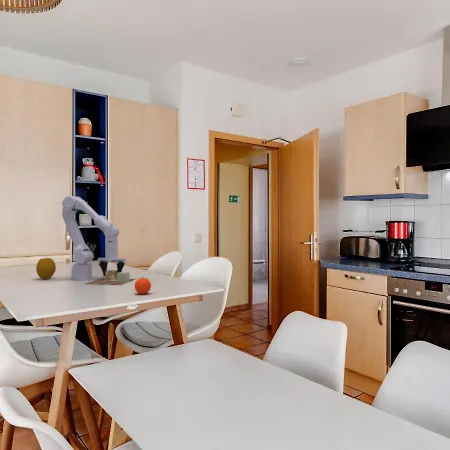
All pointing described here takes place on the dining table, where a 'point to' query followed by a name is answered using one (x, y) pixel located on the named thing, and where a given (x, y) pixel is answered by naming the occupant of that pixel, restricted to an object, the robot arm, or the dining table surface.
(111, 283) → the board
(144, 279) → the tomato
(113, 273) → the beech block
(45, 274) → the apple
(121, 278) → the sage block
